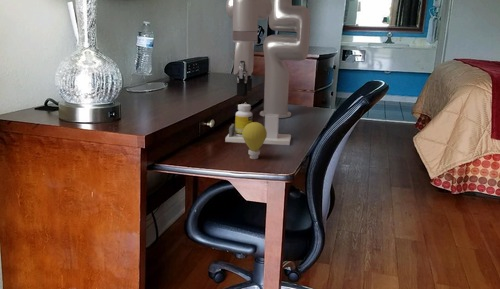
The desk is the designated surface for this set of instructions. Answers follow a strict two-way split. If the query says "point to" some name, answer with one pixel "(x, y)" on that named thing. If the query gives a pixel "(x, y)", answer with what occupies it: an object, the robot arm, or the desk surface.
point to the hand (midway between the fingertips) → (244, 93)
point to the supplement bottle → (242, 118)
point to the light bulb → (254, 138)
